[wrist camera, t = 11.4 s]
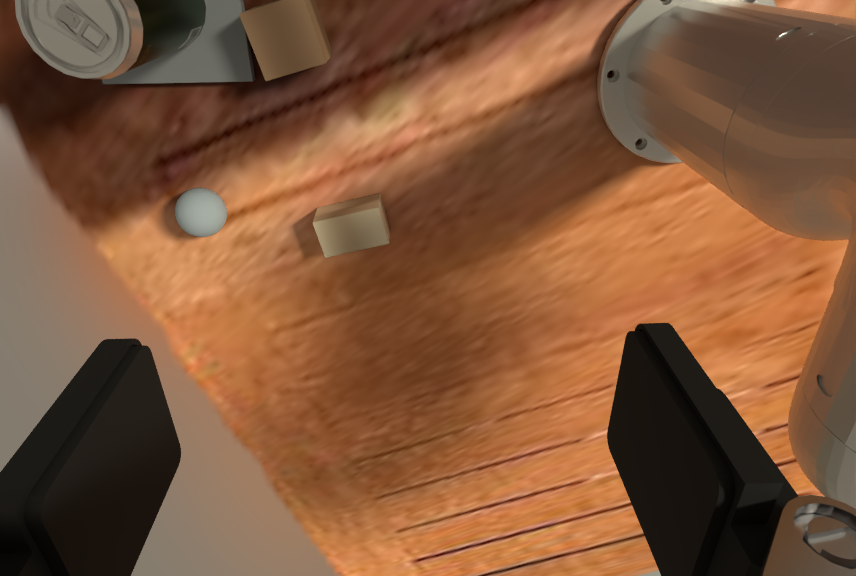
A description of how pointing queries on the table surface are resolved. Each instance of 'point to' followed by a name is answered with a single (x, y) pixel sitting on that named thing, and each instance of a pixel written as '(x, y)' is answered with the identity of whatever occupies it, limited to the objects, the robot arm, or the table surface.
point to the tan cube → (286, 36)
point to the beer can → (107, 32)
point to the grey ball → (200, 212)
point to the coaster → (203, 53)
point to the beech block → (352, 225)
